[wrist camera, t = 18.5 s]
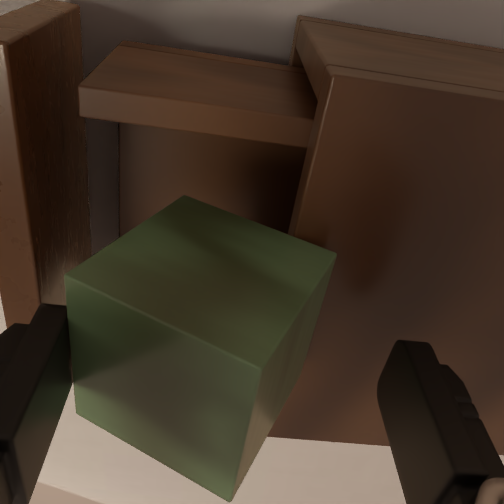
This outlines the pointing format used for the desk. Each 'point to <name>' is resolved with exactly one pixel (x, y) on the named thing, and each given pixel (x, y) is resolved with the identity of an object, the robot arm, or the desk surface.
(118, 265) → the block
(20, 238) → the drawer
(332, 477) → the desk surface
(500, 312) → the cabinet
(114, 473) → the desk surface
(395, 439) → the robot arm
